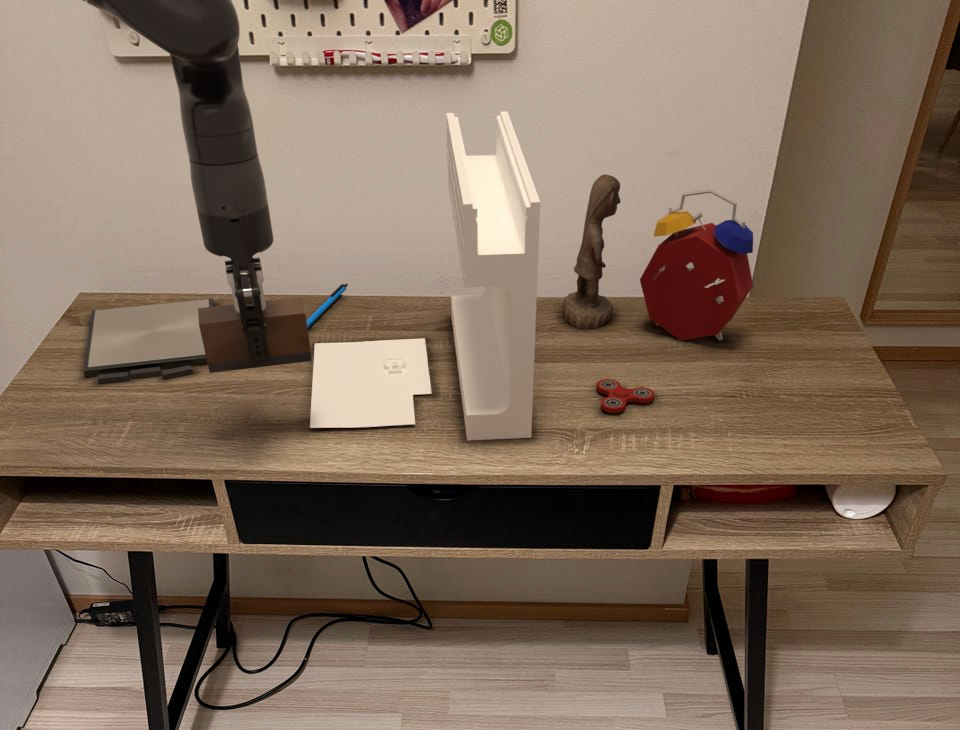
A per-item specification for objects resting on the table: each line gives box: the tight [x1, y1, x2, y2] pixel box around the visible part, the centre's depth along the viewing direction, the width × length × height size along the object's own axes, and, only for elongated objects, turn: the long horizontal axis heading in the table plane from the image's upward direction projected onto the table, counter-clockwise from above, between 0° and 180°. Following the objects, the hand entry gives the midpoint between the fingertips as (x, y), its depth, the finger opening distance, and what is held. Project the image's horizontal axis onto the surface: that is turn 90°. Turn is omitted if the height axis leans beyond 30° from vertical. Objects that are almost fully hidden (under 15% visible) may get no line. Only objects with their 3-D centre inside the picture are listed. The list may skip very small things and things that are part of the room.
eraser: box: [198, 297, 313, 374], centre depth 110 cm, size 12×4×6 cm, turn 104°
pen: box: [306, 283, 349, 329], centre depth 143 cm, size 1×19×1 cm, turn 164°
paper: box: [309, 337, 432, 429], centre depth 126 cm, size 25×17×1 cm
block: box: [445, 111, 541, 441], centre depth 119 cm, size 35×8×28 cm, turn 4°
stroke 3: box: [161, 365, 194, 380], centre depth 128 cm, size 4×1×1 cm, turn 115°
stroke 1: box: [97, 372, 131, 385], centre depth 127 cm, size 4×1×1 cm, turn 103°
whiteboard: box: [83, 298, 215, 378], centre depth 136 cm, size 18×20×1 cm
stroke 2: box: [129, 367, 162, 380], centre depth 128 cm, size 4×1×1 cm, turn 104°
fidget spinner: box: [595, 378, 656, 414], centre depth 123 cm, size 8×7×1 cm
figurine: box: [562, 174, 621, 330], centre depth 135 cm, size 9×8×20 cm
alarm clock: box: [639, 189, 754, 341], centre depth 130 cm, size 15×9×20 cm, turn 59°
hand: (258, 350), depth 111 cm, fingers closed on eraser, 4 cm apart
